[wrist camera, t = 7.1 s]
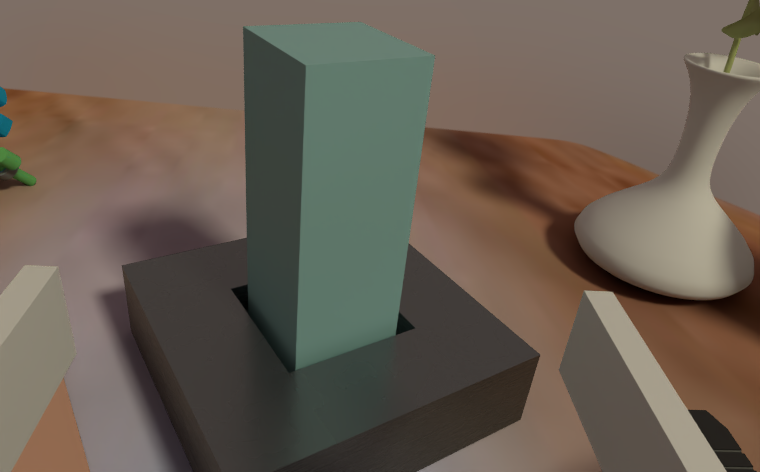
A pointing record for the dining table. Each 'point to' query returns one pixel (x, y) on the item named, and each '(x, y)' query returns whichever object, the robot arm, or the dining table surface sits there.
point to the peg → (329, 182)
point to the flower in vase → (683, 194)
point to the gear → (6, 162)
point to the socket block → (321, 373)
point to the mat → (54, 440)
